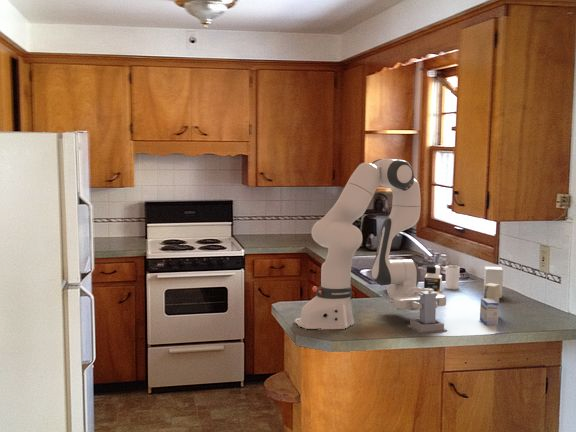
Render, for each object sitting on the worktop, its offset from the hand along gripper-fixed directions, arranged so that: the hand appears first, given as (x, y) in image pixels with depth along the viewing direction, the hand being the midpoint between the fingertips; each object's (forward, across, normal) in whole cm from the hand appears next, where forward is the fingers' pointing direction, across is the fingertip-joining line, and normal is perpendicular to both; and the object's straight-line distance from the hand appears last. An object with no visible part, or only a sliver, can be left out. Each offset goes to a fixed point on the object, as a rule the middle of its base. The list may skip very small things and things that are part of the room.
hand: (428, 306), depth 260 cm
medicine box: (-2, +26, +9) cm, 28 cm away
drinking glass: (-62, +44, +9) cm, 77 cm away
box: (-10, +32, +9) cm, 35 cm away
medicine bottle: (-58, +32, +9) cm, 67 cm away
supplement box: (-42, +53, +9) cm, 68 cm away
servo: (-1, 0, +6) cm, 6 cm away
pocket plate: (-1, 0, +9) cm, 9 cm away
